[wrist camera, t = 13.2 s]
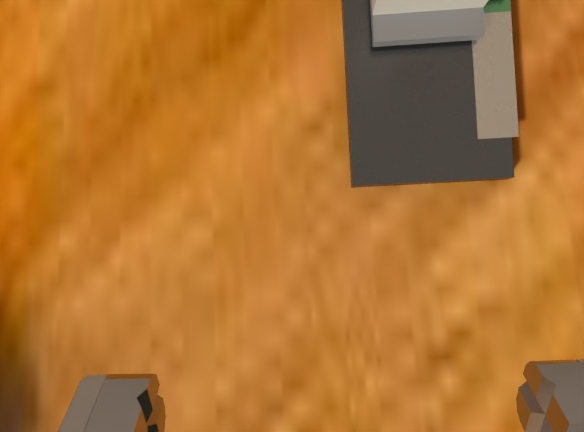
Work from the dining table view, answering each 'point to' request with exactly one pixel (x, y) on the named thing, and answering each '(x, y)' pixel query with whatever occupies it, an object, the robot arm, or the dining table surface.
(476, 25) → the upright white panel
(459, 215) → the dining table surface
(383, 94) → the base
